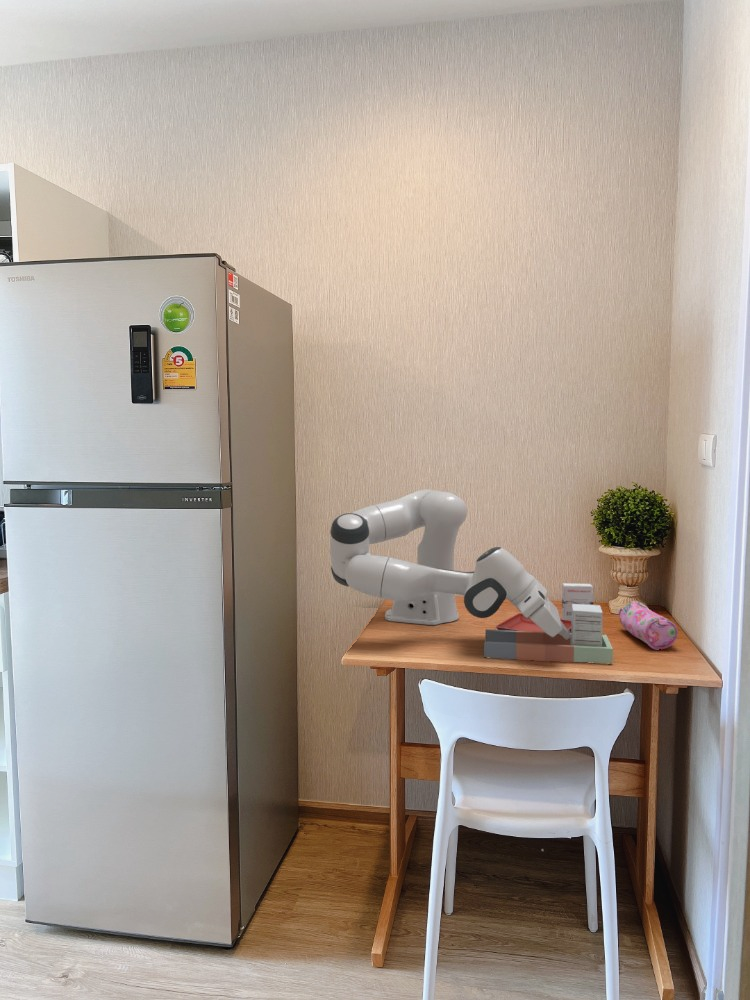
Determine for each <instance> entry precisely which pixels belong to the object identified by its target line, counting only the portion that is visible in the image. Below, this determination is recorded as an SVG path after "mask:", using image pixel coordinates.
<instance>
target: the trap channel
mask: <svg viewBox="0 0 750 1000" xmlns="http://www.w3.org/2000/svg"><path fill="white" fill-rule="evenodd" d="M570 634H571V632H570ZM607 635H608V634H602V647H594V646H573V645H571V637H570V638H569V639H568V640H566V639H565V638H564V637H563V636H562V635H560V634H559V633H558V634H557V635H555V636H554V637H551V636H549V635H548V634H547V633H545V632H532V631H510V630H498V629H485V638H484V639H485V641H483V658H484V657H490V658H489V659H491V658H503V659H502V660H511V659H518V660H517V661H530V660H534V661H533V662H535V661H537V662H550V661H557V662H556V663H559V662H558V661H561V662H560V663H569V662H591V663H592V662H593V663H612V664H613V658H614V657H613V655H614V653H613V652H614V650H613V649H614V648H613V647H612V644H611V642H610V639H609V638H608V636H607Z"/></svg>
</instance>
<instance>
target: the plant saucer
mask: <svg viewBox="0 0 750 1000" xmlns="http://www.w3.org/2000/svg"><path fill="white" fill-rule="evenodd" d="M560 620H561V622H562V623H563V624H564V626H565V627H566V628H567V629H568V630H569V631H570V633H571V621H569V620H562V618H560ZM495 628H496V630H510V631H532V632H544V631H543V630H542V629H541V628H540V627H539V626H537V625H536V624H535V623H534V622H533V621H532V620H531V619H530V618H529V617H528V618H526V617H525V616H524V615H523V614H522V613H521V612H519V613H516V614H514V615H513V616H511V617H509V618H508V619H506V620H504V621H502V622H500V623H498V624H496V625H495Z"/></svg>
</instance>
